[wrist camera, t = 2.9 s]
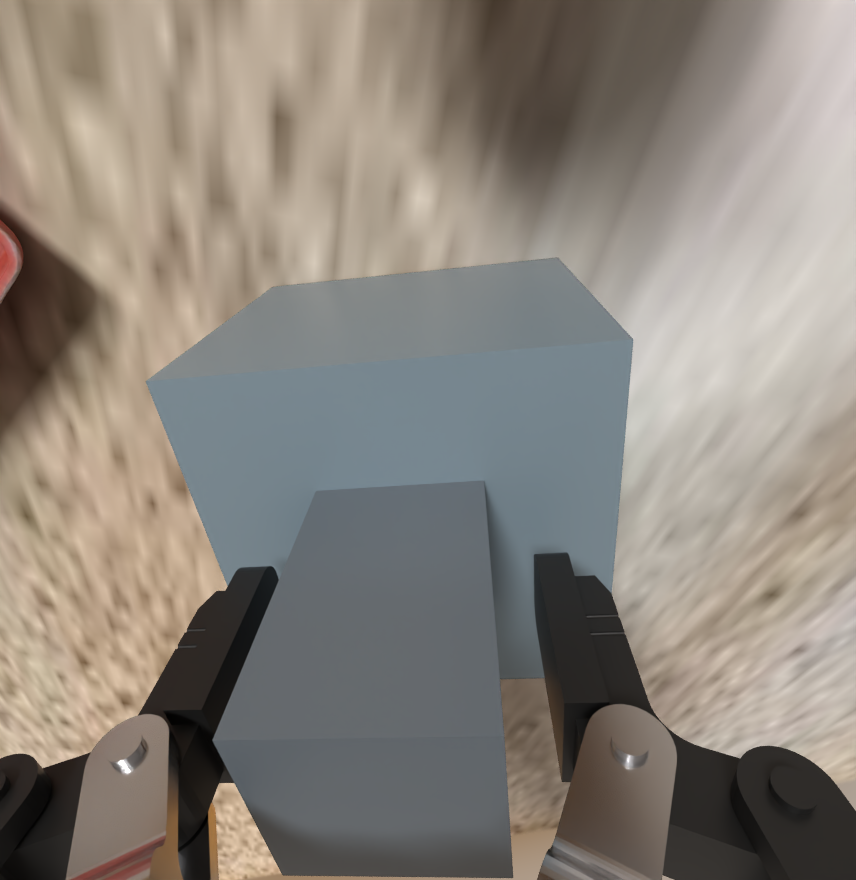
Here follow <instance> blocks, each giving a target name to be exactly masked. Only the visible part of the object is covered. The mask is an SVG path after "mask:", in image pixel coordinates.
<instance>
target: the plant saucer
mask: <svg viewBox="0 0 856 880" xmlns="http://www.w3.org/2000/svg"><path fill="white" fill-rule="evenodd" d="M22 265H23V250H22V247H21V244H20V242H19V241H18V239H17V237H16V236H15V234H14V233H13V232H12V231H11V230H10V229H9V228H8V227H7V226H6V225H5V224H4V223H3V222H2V221H1V220H0V304H1V302H2V301H3V299H4V297H5V296H6V294H7V292H8V291H9V289H10V288H11V286H12V285H13V283H14V282H15V280H16V278H17V276H18V275H19V273H20V271H21V269H22Z"/></svg>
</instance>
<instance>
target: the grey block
mask: <svg viewBox="0 0 856 880" xmlns="http://www.w3.org/2000/svg"><path fill="white" fill-rule="evenodd" d="M632 348H633V339H632V337H631V336H630V335H629V334H628V333H627V332H626V331H625V330H624V329H623V328H622V327H621V326H620V324H619V323H618V322H617V321H616V320H615V319H614V318H613V317H612V316H611V315H610V314H609V313H608V311H607V310H606V309H605V308H604V307H603V306H602V305H601V304H600V303H599V302H598V301H597V300H596V298H595V297H594V296H593V295H592V294H591V293H590V292H589V291H588V290H587V289H586V288H585V286H584V285H583V284H582V283H581V282H580V281H579V280H578V279H577V278H576V277H575V276H574V275H573V273H572V272H571V271H570V270H569V269H568V268H567V267H566V266H565V265H564V264H563V263H562V262H561V260H560V259H559V258H551V259H541V260H531V261H521V262H512V263H502V264H492V265H482V266H473V267H463V268H453V269H443V270H433V271H424V272H414V273H404V274H394V275H385V276H375V277H365V278H355V279H345V280H336V281H326V282H316V283H306V284H297V285H287V286H277V287H272V288H271V289H269V290H268V291H266V292H265V293H264V294H262V295H261V296H260V297H258V298H257V299H256V300H254V301H253V302H252V303H250V304H249V305H248V306H246V307H245V308H244V309H242V310H241V311H240V312H238V313H237V314H236V315H234V316H233V317H232V318H230V319H229V320H228V321H226V322H225V323H224V324H222V325H221V326H219V327H218V328H217V329H215V330H214V331H213V332H211V333H210V334H209V335H207V336H206V337H205V338H203V339H202V340H201V341H199V342H198V343H197V344H195V345H194V346H193V347H191V348H190V349H189V350H187V351H186V352H185V353H183V354H182V355H181V356H179V357H178V358H176V359H175V360H174V361H172V362H171V363H170V364H168V365H167V366H166V367H164V368H163V369H162V370H160V371H159V372H158V373H156V374H155V375H154V376H152V377H151V378H150V379H148V380H147V381H146V383H147V386H148V388H149V391H150V393H151V396H152V398H153V401H154V403H155V406H156V408H157V411H158V413H159V416H160V418H161V421H162V423H163V426H164V428H165V431H166V433H167V436H168V438H169V441H170V443H171V446H172V448H173V451H174V453H175V456H176V458H177V461H178V463H179V466H180V468H181V471H182V473H183V476H184V478H185V481H186V483H187V486H188V488H189V491H190V493H191V496H192V498H193V501H194V503H195V506H196V508H197V511H198V513H199V516H200V518H201V521H202V523H203V526H204V528H205V531H206V533H207V536H208V538H209V541H210V543H211V546H212V548H213V551H214V553H215V556H216V558H217V561H218V563H219V566H220V568H221V571H222V573H223V576H224V578H225V581H226V583H227V586H228V585H229V583H230V581H231V579H232V577H233V576H234V574H235V572H236V571H237V569H239V568H241V567H261V566H272V567H274V569H275V570H276V573H277V576H278V579H279V581H278V583H277V586H276V588H275V591H274V593H273V595H272V598H271V600H270V603H269V605H268V608H267V610H266V612H265V615H264V617H263V620H262V622H261V624H260V627H259V629H258V632H257V634H256V636H255V639H254V641H253V644H252V646H251V648H250V651H249V653H248V656H247V658H246V661H245V663H244V665H243V668H242V670H241V673H240V675H239V677H238V680H237V682H236V685H235V687H234V689H233V692H232V694H231V697H230V699H229V701H228V704H227V706H226V709H225V711H224V714H223V716H222V718H221V721H220V723H219V726H218V728H217V730H216V733H215V735H214V738H213V740H212V741H213V743H214V745H215V747H216V748H217V750H218V752H219V754H220V756H221V758H222V760H223V762H224V764H225V766H226V768H227V770H228V771H229V773H230V775H231V777H232V779H233V781H234V783H235V785H236V787H237V789H238V791H239V793H240V794H241V796H242V798H243V800H244V802H245V804H246V806H247V808H248V810H249V812H250V814H251V816H252V817H253V819H254V821H255V823H256V825H257V827H258V829H259V831H260V833H261V835H262V837H263V838H264V840H265V842H266V844H267V846H268V848H269V850H270V852H271V854H272V856H273V858H274V860H275V861H276V863H277V865H278V867H279V869H280V871H281V873H282V875H288V876H289V875H290V876H293V875H294V876H296V875H297V876H378V877H379V876H381V877H469V878H474V877H476V878H513V867H512V852H511V835H510V819H509V803H508V787H507V771H506V755H505V740H504V726H503V714H502V701H501V688H500V679H526V678H545V677H544V670H543V664H542V658H541V652H540V646H539V640H538V634H537V628H536V619H535V606H534V554H544V553H564V552H567V553H568V554H569V557H570V561H571V564H572V568H573V572H574V575H575V576H590V575H595V576H596V577H597V578H598V579H599V580H600V581H601V583H602V584H603V585H604V586H605V587H606V588H607V589H608V590H609V591H610V592H611V594H612V582H613V571H614V559H615V547H616V536H617V524H618V512H619V500H620V489H621V477H622V465H623V454H624V442H625V430H626V418H627V407H628V395H629V383H630V372H631V360H632Z"/></svg>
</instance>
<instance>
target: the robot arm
mask: <svg viewBox="0 0 856 880" xmlns="http://www.w3.org/2000/svg"><path fill="white" fill-rule="evenodd" d="M278 581H279V579H278V576H277V573H276V570H275V569H274V567H272V566H261V567H241V568H239V569H237V571H236V572H235V574H234V576H233V577H232V579H231V581H230V583H229V585H228V587H227V589H226V591H216V592H215V593H214V594H213V595H212V596H211V597H210V598H209V599H208V600H207V601H206V602H205V603H204V604H203V605H202V606H201V607H200V608H199V609H198V610H197V612H196V614H195V616H194V617H193V619H192V621H191V623H190V624H189V626H188V628H187V633H184V635H183V637H182V639H181V640H180V642H179V644H178V649H175V651H174V653H173V655H172V656H171V658H170V660H169V662H168V664H167V665H166V667H165V669H164V671H163V672H162V674H161V676H160V678H159V680H158V681H157V683H156V685H155V687H154V688H153V690H152V692H151V694H150V696H149V697H148V699H147V701H146V703H145V704H144V706H143V708H142V710H141V711H140V713H139V714H138V716H135V717H132V718H130V719H127V720H125V721H123V722H122V723H120V724H118V725H117V726H115V727H114V728H113V729H111V730H110V731H109V732H108V733H107V734H106V735H104V736H103V737H102V739H101V740H100V741H99V742H98V743H97V744H96V746H95V747H94V748H93V750H92V752H91V753H88V754H85V755H82V756H79V757H76V758H73V759H70V760H67V761H64V762H61V763H58V764H55V765H52V766H49V767H46V768H43V769H42V767H41V766H40V765H39V764H38V763H37V761H36V760H35V759H34V758H33V757H32V756H30V755H27V754H13V755H9V756H6V757H3V758H1V759H0V880H219V873H218V853H217V833H216V813H215V807H214V805H213V802H212V800H213V797H214V795H215V792H216V789H217V787H218V784H219V783H234V781H233V779H232V777H231V775H230V773H229V771H228V770H227V768H226V766H225V764H224V762H223V760H222V758H221V756H220V754H219V752H218V750H217V748H216V747H215V745H214V743H213V741H212V740H213V738H214V735H215V733H216V730H217V728H218V726H219V723H220V721H221V718H222V716H223V714H224V711H225V709H226V706H227V704H228V701H229V699H230V697H231V694H232V692H233V689H234V687H235V685H236V682H237V680H238V677H239V675H240V673H241V670H242V668H243V665H244V663H245V661H246V658H247V656H248V653H249V651H250V648H251V646H252V644H253V641H254V639H255V636H256V634H257V632H258V629H259V627H260V624H261V622H262V620H263V617H264V615H265V612H266V610H267V608H268V605H269V603H270V600H271V598H272V595H273V593H274V591H275V588H276V586H277V583H278ZM534 606H535V619H536V628H537V634H538V640H539V646H540V652H541V658H542V664H543V670H544V677H545V683H546V689H547V695H548V701H549V707H550V713H551V719H552V725H553V731H554V737H555V743H556V749H557V755H558V761H559V767H560V773H561V779H562V782H571V783H570V787H569V790H568V794H567V797H566V801H565V804H564V808H563V812H562V815H561V819H560V822H559V826H558V829H557V833H556V836H555V839H554V842H553V845H552V847H551V848H550V849H549V850H548V851H547V853H546V855H545V858H544V860H543V863H542V866H541V869H540V872H539V875H538V879H537V880H662V875H664V876H667V877H669V878H672V879H674V880H856V811H855V810H854V808H853V807H852V805H851V804H850V803H849V801H848V800H847V799H846V797H845V796H844V795H843V793H842V792H841V790H840V789H839V788H838V787H837V785H836V784H835V783H834V781H833V780H832V779H831V778H830V777H829V776H828V775H827V774H826V773H825V772H824V771H823V770H822V769H821V768H819V767H818V766H817V765H816V764H814V763H813V762H811V761H810V760H808V759H807V758H805V757H803V756H801V755H799V754H797V753H795V752H793V751H790V750H788V749H784V748H780V747H775V746H760V747H756V748H753V749H751V750H749V751H747V752H746V753H745V754H744V755H743V756H742V757H741V759H740V758H736V757H733V756H730V755H726V754H723V753H719V752H716V751H713V750H709V749H706V748H702V747H700V746H697V745H694V744H692V743H690V742H687V741H685V740H683V739H682V738H680V737H679V736H677V735H676V734H674V733H673V732H672V731H670V730H669V729H668V728H667V727H666V726H665V725H664V724H663V723H662V722H661V721H660V720H659V718H658V717H657V716H656V715H655V713H654V711H653V710H652V708H651V706H650V703H649V701H648V698H647V695H646V693H645V690H644V687H643V684H642V681H641V678H640V675H639V672H638V669H637V667H636V664H635V661H634V658H633V655H632V652H631V649H630V646H629V643H628V641H627V638H626V635H625V634H624V629H623V626H622V623H621V620H620V618H619V617H618V612H617V609H616V606H615V603H614V600H613V597H612V594H611V592H610V591H609V590H608V589H607V588H606V587H605V586H604V585H603V584H602V583H601V581H600V580H599V579H598V578H597V577H596V576H595V575H590V576H575V575H574V572H573V568H572V564H571V561H570V557H569V554H568V553H567V552H564V553H544V554H534Z"/></svg>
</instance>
